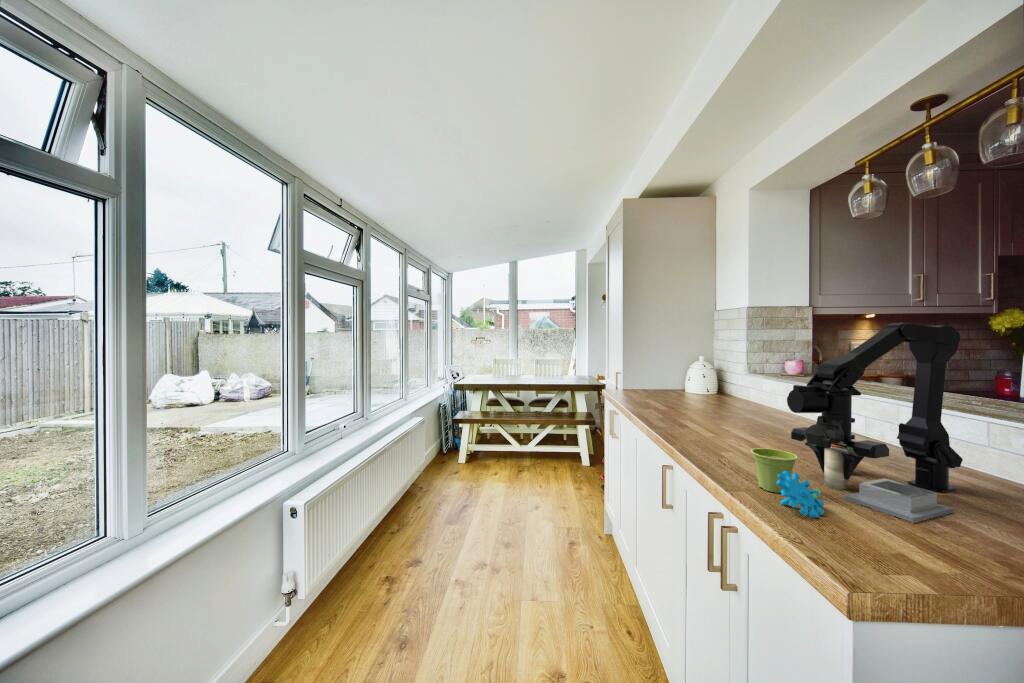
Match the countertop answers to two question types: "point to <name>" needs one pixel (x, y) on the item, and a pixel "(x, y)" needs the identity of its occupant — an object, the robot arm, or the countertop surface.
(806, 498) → the blue knobbly cluster
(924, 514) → the socket plate
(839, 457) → the beech peg
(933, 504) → the socket collar
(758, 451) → the plant pot
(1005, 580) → the countertop surface
